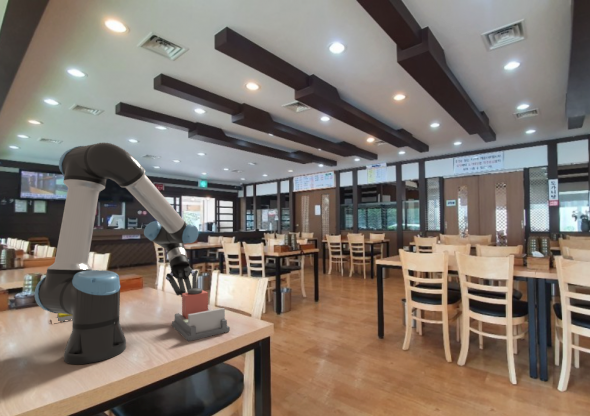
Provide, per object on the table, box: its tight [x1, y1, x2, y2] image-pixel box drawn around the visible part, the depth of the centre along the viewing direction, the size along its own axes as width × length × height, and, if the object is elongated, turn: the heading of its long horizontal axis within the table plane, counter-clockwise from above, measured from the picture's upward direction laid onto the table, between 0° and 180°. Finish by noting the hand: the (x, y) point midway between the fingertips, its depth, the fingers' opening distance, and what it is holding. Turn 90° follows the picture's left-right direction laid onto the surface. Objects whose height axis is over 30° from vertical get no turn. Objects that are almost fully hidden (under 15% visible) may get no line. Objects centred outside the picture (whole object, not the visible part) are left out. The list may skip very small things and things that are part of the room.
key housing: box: [171, 307, 231, 342], centre depth 110 cm, size 14×20×8 cm
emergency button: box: [56, 313, 73, 321], centre depth 127 cm, size 9×4×15 cm
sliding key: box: [181, 287, 209, 319], centre depth 114 cm, size 8×5×11 cm, turn 126°
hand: (190, 308), depth 118 cm, fingers closed
